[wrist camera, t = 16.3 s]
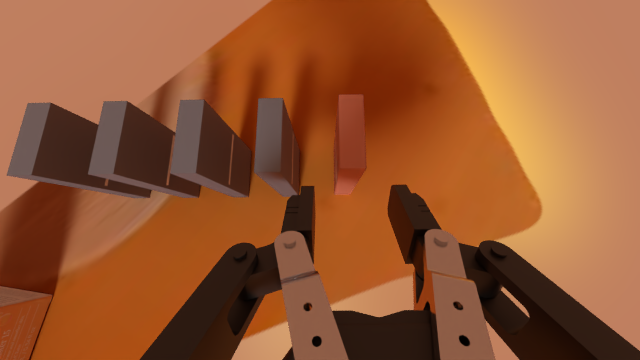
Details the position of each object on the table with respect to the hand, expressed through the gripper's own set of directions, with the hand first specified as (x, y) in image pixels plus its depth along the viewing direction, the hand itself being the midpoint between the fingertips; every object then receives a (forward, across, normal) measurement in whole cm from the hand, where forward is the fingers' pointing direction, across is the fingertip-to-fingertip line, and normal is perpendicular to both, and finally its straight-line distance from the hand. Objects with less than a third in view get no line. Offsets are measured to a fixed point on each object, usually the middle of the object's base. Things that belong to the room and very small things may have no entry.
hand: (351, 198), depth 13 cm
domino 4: (+10, +5, +4) cm, 12 cm away
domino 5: (+10, 0, +4) cm, 11 cm away
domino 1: (+10, +21, +4) cm, 24 cm away
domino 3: (+10, +10, +4) cm, 15 cm away
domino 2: (+10, +15, +4) cm, 19 cm away
